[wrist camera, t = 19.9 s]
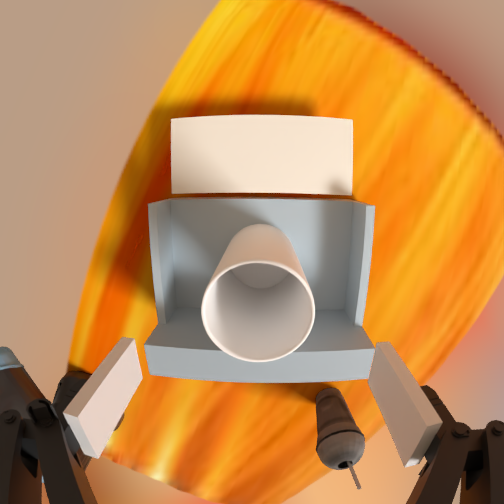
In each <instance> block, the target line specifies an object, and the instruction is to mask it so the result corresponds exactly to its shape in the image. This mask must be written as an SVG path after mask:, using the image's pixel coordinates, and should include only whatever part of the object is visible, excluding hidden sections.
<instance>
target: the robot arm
mask: <svg viewBox="0 0 504 504" xmlns="http://www.w3.org/2000/svg"><path fill="white" fill-rule="evenodd" d="M142 378H143V377H142V373H141V368H140V364H139V359H138V354H137V349H136V344H135V339H134V338H126V337H122V338H121V339H120V341H119V342H118V343H117V344H116V345H115V347H114V348H113V349H112V350H111V352H110V353H109V354H108V355H107V357H106V358H105V359H104V360H103V362H102V363H101V364H100V365H99V366H98V368H97V369H96V370H95V372H94V373H93V374H92V375H90V374H87V373H84V372H80V371H71V372H68V373H67V374H66V375H65V376H64V377H63V378H62V379H61V380H60V382H59V384H58V388H57V391H56V394H55V397H54V400H53V403H52V404H51V402H50V401H48V400H47V399H46V398H45V397H44V395H43V394H42V393H41V391H40V390H39V389H38V387H37V386H36V384H35V383H34V382H33V380H32V379H31V377H30V376H29V375H28V373H27V372H26V370H25V369H24V366H23V365H22V364H20V362H19V361H18V359H17V358H16V356H15V355H14V354H13V352H12V351H11V350H10V349H9V348H7V347H0V504H42V503H41V496H42V495H41V493H42V482H43V483H44V484H45V488H46V492H47V496H48V499H49V503H50V504H97V501H96V499H95V496H94V494H93V492H92V489H91V487H90V484H89V482H88V479H87V477H86V474H85V470H86V468H87V466H88V464H89V462H90V460H91V458H92V457H95V458H99V457H100V455H101V453H102V451H103V449H104V448H105V446H106V444H107V442H108V440H109V438H110V436H111V435H112V433H113V431H115V430H116V429H117V428H118V427H119V426H120V424H121V422H122V421H123V418H124V411H125V409H126V407H127V405H128V403H129V402H130V400H131V398H132V396H133V394H134V393H135V391H136V389H137V387H138V385H139V384H140V382H141V380H142ZM368 384H369V387H370V389H371V391H372V393H373V395H374V398H375V400H376V402H377V404H378V406H379V409H380V411H381V413H382V415H383V418H384V420H385V422H386V425H387V427H388V429H389V431H390V434H391V436H392V439H393V441H394V443H395V445H396V448H397V450H398V453H399V455H400V458H401V460H402V462H403V465H404V467H408V466H412V465H416V464H419V463H420V461H421V460H422V458H423V457H424V456H425V458H426V460H427V462H426V464H425V466H424V467H423V469H422V470H421V472H420V473H419V475H420V477H419V479H418V481H417V483H416V485H415V487H414V489H413V491H412V493H411V495H410V497H409V499H408V501H407V503H406V504H452V502H453V499H454V496H455V493H456V490H457V488H458V485H459V482H460V478H461V493H460V504H504V423H503V422H501V421H497V420H494V421H491V422H489V423H488V424H487V426H486V428H485V429H480V430H471V429H470V427H469V426H467V425H466V424H464V423H460V422H456V421H455V420H454V418H453V417H452V415H451V414H450V412H449V411H448V410H447V408H446V406H445V405H444V404H443V402H442V401H441V399H439V396H438V395H437V393H436V392H435V391H434V390H433V389H432V388H430V387H429V386H427V385H425V386H419V384H418V383H417V381H416V380H415V378H414V377H413V375H412V374H411V372H410V371H409V370H408V368H407V367H406V365H405V364H404V362H403V361H402V359H401V358H400V356H399V355H398V353H397V352H396V351H395V349H394V348H393V346H392V345H391V343H390V342H380V343H377V344H376V349H375V353H374V358H373V362H372V366H371V371H370V375H369V379H368Z"/></svg>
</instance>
